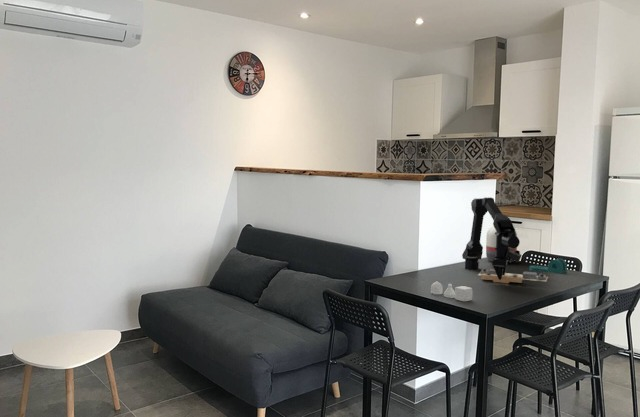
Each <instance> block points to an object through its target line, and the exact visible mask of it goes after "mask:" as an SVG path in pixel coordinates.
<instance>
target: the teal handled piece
mask: <svg viewBox="0 0 640 417" xmlns="http://www.w3.org/2000/svg"><path fill="white" fill-rule="evenodd" d="M529 271H531V272H534V271H535V272H545V273H547V272H548V273H553V274H561V275H562V274H567V272H568V264H567V261H566V260H565V259H563V258H555V259H552V260H550V261H549V262H548V264H547V266H541V265H529Z"/></svg>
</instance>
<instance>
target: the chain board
mask: <svg viewBox="0 0 640 417" xmlns="http://www.w3.org/2000/svg"><path fill="white" fill-rule="evenodd" d="M481 275H482V274H481V271H480V272H479V273H478V274H477V276H480V277H481ZM505 275H506V276H513V275H517V276H518V277H522V281H524V280H527V281H535V282H537V281H538V282H547V281H548V279H549V276H546V278H545V280H538V276H539V275H537V278H536V279H527V278H523V274H519V273H509V272H508V273H507V272H505Z"/></svg>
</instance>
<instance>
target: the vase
mask: <svg viewBox="0 0 640 417" xmlns="http://www.w3.org/2000/svg"><path fill="white" fill-rule="evenodd" d="M495 232H496V229H495V228H494V225H493V224H492V226H490V227H489V228H488V230H487V232H486V237H485V238H486V240H485V241H486V242H485V243H486V244H485V245H486V246H485V256H486V259H487V260H488V261H489V262H491V263H492V261H493V260H494V259H495V256H496V250H495V247H496V234H495ZM515 233H516V237H518V234H517V231H516V230H515ZM509 248H510V247H509ZM516 250H518V247H516V248H510V251H514V252H515V251H516ZM508 261H509V260H508ZM514 262H515V261H514V260H512V259H511V262H510V263H509V264H511V263H514Z"/></svg>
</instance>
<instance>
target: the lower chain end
mask: <svg viewBox="0 0 640 417" xmlns="http://www.w3.org/2000/svg"><path fill="white" fill-rule="evenodd" d="M480 272H481V274H487V273H490V274H494V275H497V274H496V272H495V269H494V268H490V269H486V268H483V269H481V270H480Z"/></svg>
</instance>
